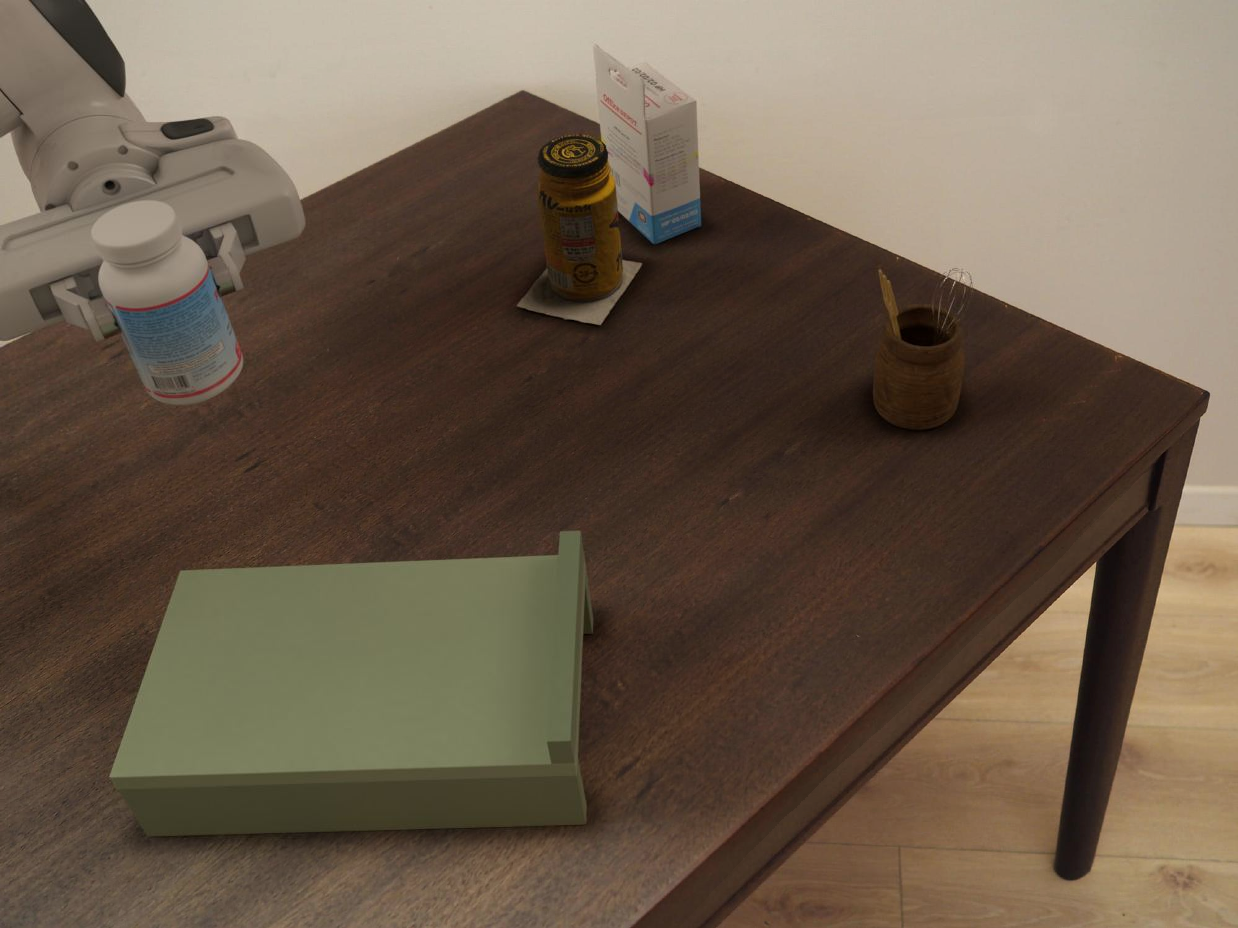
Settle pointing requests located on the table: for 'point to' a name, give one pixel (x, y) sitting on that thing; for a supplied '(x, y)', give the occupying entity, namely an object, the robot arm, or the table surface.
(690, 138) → the ink box
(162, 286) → the pill bottle
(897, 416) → the utensil holder
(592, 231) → the condiment
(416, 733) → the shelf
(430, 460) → the table surface
